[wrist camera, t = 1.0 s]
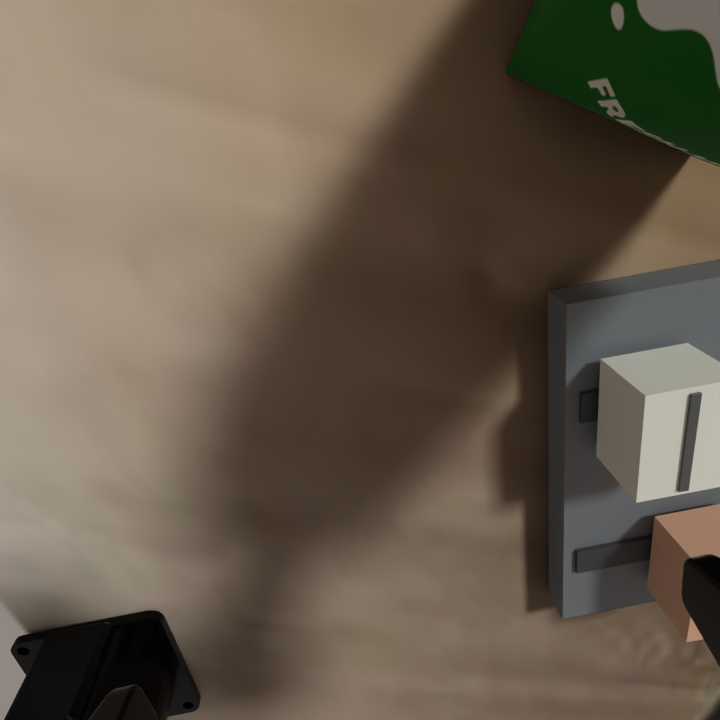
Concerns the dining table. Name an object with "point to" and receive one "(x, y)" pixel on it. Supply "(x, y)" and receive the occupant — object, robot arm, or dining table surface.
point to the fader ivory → (660, 421)
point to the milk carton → (631, 65)
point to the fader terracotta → (680, 559)
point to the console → (580, 421)
